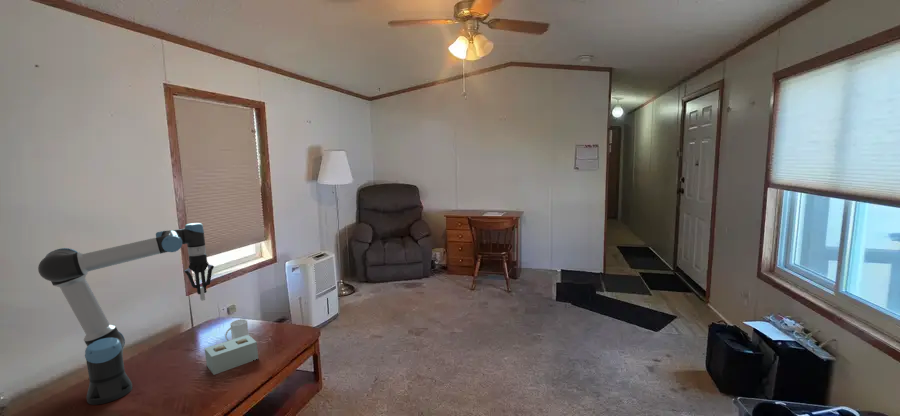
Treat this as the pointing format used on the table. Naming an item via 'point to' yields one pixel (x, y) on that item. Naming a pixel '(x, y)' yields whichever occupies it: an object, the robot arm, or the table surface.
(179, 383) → the table surface
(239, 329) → the mug
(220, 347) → the peg near
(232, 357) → the socket block
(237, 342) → the peg far
